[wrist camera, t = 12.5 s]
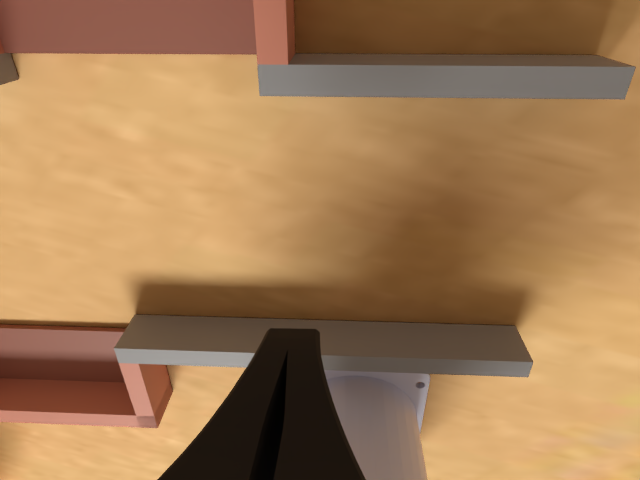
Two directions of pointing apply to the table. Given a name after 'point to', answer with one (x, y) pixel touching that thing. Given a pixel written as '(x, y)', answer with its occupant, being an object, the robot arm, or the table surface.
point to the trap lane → (274, 80)
